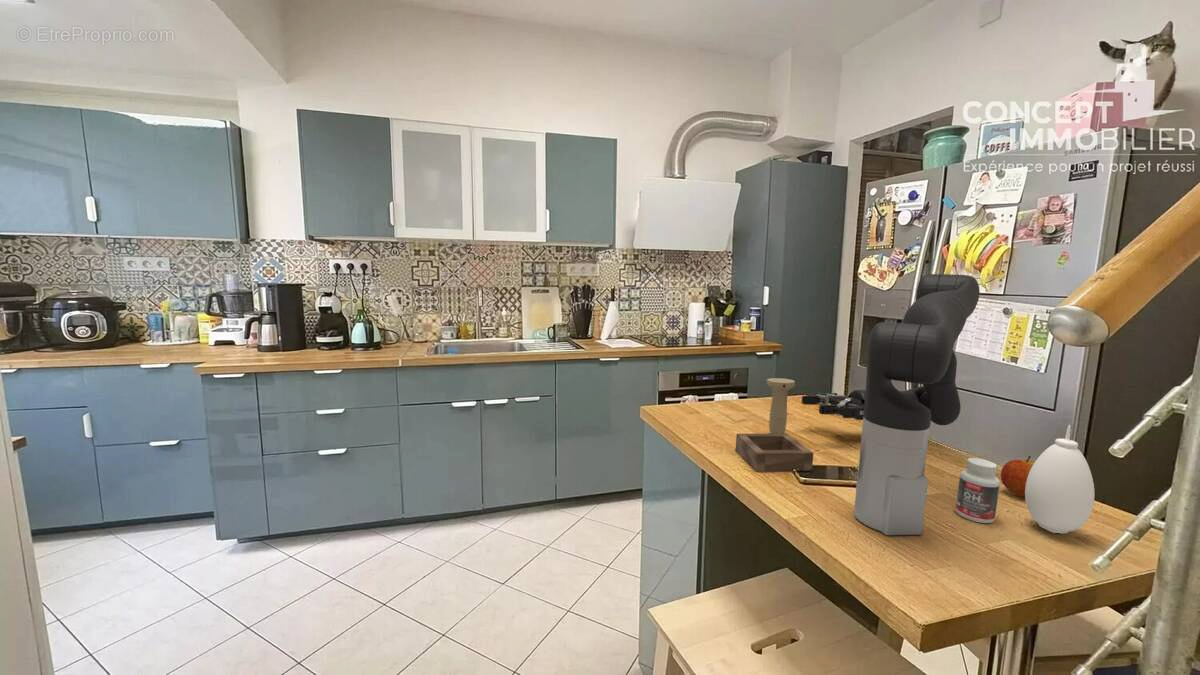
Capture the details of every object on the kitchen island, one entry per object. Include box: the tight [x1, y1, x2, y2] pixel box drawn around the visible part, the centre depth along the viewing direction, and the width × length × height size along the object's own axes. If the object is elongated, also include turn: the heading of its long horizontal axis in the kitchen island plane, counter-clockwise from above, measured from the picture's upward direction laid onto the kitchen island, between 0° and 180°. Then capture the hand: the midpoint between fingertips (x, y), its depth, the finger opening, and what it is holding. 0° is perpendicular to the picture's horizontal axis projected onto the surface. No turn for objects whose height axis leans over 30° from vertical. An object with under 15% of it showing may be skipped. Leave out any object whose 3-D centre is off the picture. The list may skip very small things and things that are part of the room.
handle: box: [766, 377, 796, 434], centre depth 117 cm, size 5×6×15 cm
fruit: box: [1000, 455, 1035, 499], centre depth 89 cm, size 7×7×8 cm
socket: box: [735, 432, 814, 473], centre depth 104 cm, size 12×12×4 cm
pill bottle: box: [955, 457, 1001, 524], centre depth 81 cm, size 5×5×10 cm
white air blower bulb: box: [1024, 424, 1095, 534], centre depth 76 cm, size 8×8×18 cm
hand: (810, 404), depth 117 cm, fingers open, 8 cm apart
